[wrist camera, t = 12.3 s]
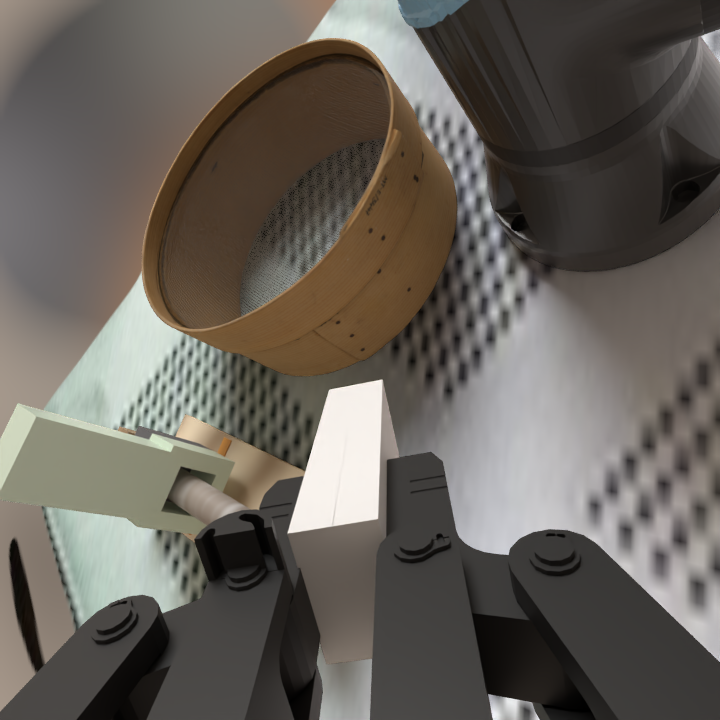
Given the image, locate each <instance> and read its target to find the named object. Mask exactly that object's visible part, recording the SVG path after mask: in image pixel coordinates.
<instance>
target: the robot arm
mask: <svg viewBox="0 0 720 720" xmlns="http://www.w3.org/2000/svg"><path fill="white" fill-rule="evenodd" d="M398 3H399V10H400V12H401V14H402V17H403V18H404V20H405V21H406V23H407V24H408V25H409V26H412V27H413V28H414V30H415V32H416V33H417V35H418V37H419V38H420V40H421V42H422V43H423V45H424V46H425V48H426V50H427V51H428V53H429V55H430V56H431V58H432V59H433V61H434V63H435V64H436V66H437V68H438V69H439V71H440V73H441V74H442V76H443V77H444V79H445V81H446V82H447V84H448V86H449V87H450V89H451V91H452V92H453V94H454V95H455V97H456V99H457V100H458V102H459V104H460V105H461V107H462V109H463V110H464V112H465V113H466V115H467V117H468V118H469V120H470V122H471V123H472V125H473V127H474V128H475V129H476V131H477V133H478V135H479V136H480V138H481V140H482V141H483V144H484V153H485V162H486V172H487V181H488V190H489V197H490V202H491V205H492V208H493V211H494V213H495V216H496V218H497V219H498V221H499V223H500V224H501V226H502V227H503V229H504V230H505V232H506V233H507V235H508V236H509V238H510V239H511V241H512V242H513V243H514V244H515V245H516V246H517V247H518V248H519V249H520V250H521V251H522V252H524V253H525V254H526V255H528V256H529V257H531V258H532V259H534V260H536V261H538V262H541V263H543V264H545V265H548V266H551V267H555V268H559V269H565V270H573V271H598V270H607V269H613V268H618V267H623V266H627V265H630V264H634V263H637V262H640V261H643V260H645V259H648V258H650V257H653V256H655V255H657V254H659V253H661V252H663V251H665V250H667V249H669V248H671V247H672V246H674V245H676V244H677V243H679V242H681V241H682V240H684V239H685V238H686V237H688V236H689V235H691V234H692V233H693V232H695V231H696V230H697V229H698V228H699V227H701V226H702V225H703V224H704V223H705V222H706V221H707V220H708V219H709V218H710V217H711V216H712V215H713V214H714V213H715V212H716V211H717V210H718V208H719V207H720V62H719V61H718V60H717V58H716V57H715V56H714V54H713V53H712V51H711V50H710V49H709V47H708V46H707V44H706V43H705V42H704V40H703V39H702V38H701V36H702V35H704V34H707V33H710V32H713V31H715V30H718V29H720V0H398ZM194 541H195V544H196V547H197V550H198V552H199V555H200V558H201V561H202V564H203V566H204V569H205V572H206V575H207V577H208V580H209V582H208V584H207V586H206V588H205V591H204V593H203V595H202V597H201V598H200V599H198V600H196V601H194V602H192V603H189V604H186V605H184V606H181V607H178V608H176V609H173V610H171V611H168V612H165V613H163V614H162V612H161V609H160V607H159V604H158V603H157V602H156V601H155V599H154V598H153V597H149V596H145V595H138V596H130V597H127V598H123V599H121V600H117V601H115V602H113V603H111V604H109V605H108V606H106V607H105V608H103V609H101V610H100V611H98V612H97V613H95V614H94V615H93V616H92V617H91V618H90V619H88V620H87V621H86V622H85V623H84V624H83V625H82V626H81V627H80V628H79V629H78V630H77V631H76V632H75V633H74V635H73V636H72V637H71V638H70V639H69V640H68V641H67V642H66V643H65V644H64V645H63V646H62V647H61V648H60V649H59V650H58V651H57V652H56V653H55V655H54V656H53V657H52V658H51V659H50V660H49V661H48V662H47V663H46V664H45V665H44V666H43V667H42V668H41V669H40V670H39V671H38V672H37V674H36V675H35V676H34V677H33V678H32V679H31V680H30V681H29V682H28V683H27V684H26V685H25V686H24V687H23V688H22V689H21V690H20V692H19V693H18V694H17V695H16V696H15V697H14V698H13V699H12V700H11V701H10V702H9V703H8V704H7V705H6V706H5V707H4V708H3V709H2V711H1V712H0V720H319V717H320V709H321V701H322V693H323V690H322V680H321V676H320V673H319V670H318V667H317V663H316V662H317V656H318V649H319V642H320V644H321V647H322V651H323V654H324V657H325V661H326V664H334V663H342V662H349V661H357V660H364V659H372V683H371V709H370V720H493V719H492V713H491V708H490V702H489V697H488V694H491V695H496V696H502V697H507V698H513V699H518V700H523V701H529V702H532V703H533V706H534V709H535V712H536V714H537V715H538V717H539V719H540V720H720V662H719V661H718V660H717V659H716V658H715V657H714V656H713V655H712V654H711V653H710V652H708V651H707V650H706V649H705V648H704V647H703V646H702V645H701V644H700V643H699V642H698V641H697V640H696V639H695V638H694V637H693V636H692V635H691V634H690V633H689V632H688V631H687V630H686V629H685V628H684V627H683V626H681V625H680V624H679V623H678V622H677V621H676V620H675V619H674V618H673V617H672V616H671V615H670V614H669V613H668V612H667V611H666V610H665V609H664V608H663V607H662V606H661V605H660V604H659V603H658V602H657V601H656V600H654V599H653V598H652V597H651V596H650V595H649V594H648V593H647V592H646V591H645V590H644V589H643V588H642V587H641V586H640V585H639V584H638V583H637V582H636V581H635V580H634V579H633V578H632V577H631V576H630V575H629V574H627V573H626V572H625V571H624V570H623V569H622V568H621V567H620V566H619V565H618V564H617V563H616V562H615V561H614V560H613V559H612V558H611V557H610V556H609V555H608V554H607V553H606V552H605V551H604V550H603V549H602V548H600V547H599V546H598V545H597V544H596V543H595V542H593V541H592V540H590V539H588V538H587V537H585V536H584V535H581V534H577V533H574V532H571V531H568V530H551V529H549V530H543V531H538V532H533V533H531V534H529V535H526V536H524V537H522V538H520V539H519V540H518V541H517V542H516V543H515V544H514V545H513V546H512V547H511V548H510V552H509V555H500V554H492V553H486V552H482V551H479V550H476V549H473V548H472V547H470V546H468V545H467V544H465V543H464V542H463V541H462V540H461V539H460V538H459V536H458V534H457V532H456V528H455V522H454V517H453V512H452V507H451V502H450V497H449V492H448V487H447V482H446V477H445V471H444V466H443V462H442V461H441V460H440V459H439V458H438V457H436V456H435V455H434V454H433V453H432V452H428V453H422V454H417V455H411V456H405V457H400V456H399V452H398V447H397V443H396V438H395V434H394V429H393V425H392V420H391V415H390V411H389V406H388V402H387V397H386V393H385V388H384V384H383V379H382V380H377V381H372V382H367V383H361V384H356V385H351V386H346V387H340V388H335V389H330V390H329V392H328V395H327V399H326V402H325V406H324V409H323V413H322V416H321V420H320V423H319V426H318V430H317V433H316V437H315V440H314V444H313V447H312V451H311V454H310V457H309V461H308V464H307V468H306V471H305V475H304V476H300V477H294V478H288V479H283V480H278V481H277V482H276V483H275V484H274V485H273V486H272V487H271V488H270V489H269V490H268V491H267V492H266V493H265V494H264V497H263V499H262V502H261V504H260V507H259V510H257V509H253V510H241V511H237V512H234V513H230V514H227V515H225V516H223V517H221V518H219V519H217V520H215V521H213V522H212V523H210V524H209V525H207V526H206V527H205V528H203V529H202V530H201V531H200V533H199V534H198V535H197V536H196V537H195V539H194Z"/></svg>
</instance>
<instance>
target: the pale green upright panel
mask: <svg viewBox="0 0 720 720" xmlns="http://www.w3.org/2000/svg"><path fill="white" fill-rule="evenodd" d="M234 464H235V462H233V461H232V460H230V459H228V458H226V457H224V456H222V455H220V454H218V453H216V452H215V451H212V450H209V449H205V448H202V447H198V446H195V445H191V444H188V443H184V442H181V441H177V440H174V439H170V438H167V437H163V436H160V435H156V434H153V433H152V435H151V437H150V439H145V438H142V437H138V436H134V435H131V434H127V433H124V432H120V431H116V430H113V429H109V428H105V427H102V426H98V425H95V424H91V423H87V422H84V421H80V420H76V419H73V418H69V417H66V416H62V415H58V414H55V413H51V412H47V411H44V410H40V409H36V408H33V407H29V406H26V405H22V404H17V406H16V408H15V410H14V412H13V415H12V417H11V419H10V421H9V423H8V425H7V427H6V429H5V431H4V433H3V435H2V437H1V439H0V500H3V501H10V502H17V503H25V504H32V505H38V506H45V507H52V508H59V509H66V510H74V511H81V512H88V513H95V514H102V515H109V516H116V517H123V518H127V519H128V520H129V521H131V522H132V523H133V524H134V525H136V526H137V527H142V528H149V529H157V530H165V531H172V532H180V533H188V534H195V535H198V534H199V533H200V531H201V530H202V529H203V528H205V527H206V526H207V525H205V524H204V523H202V522H201V521H200V520H198V519H197V518H195V517H194V516H192V515H191V514H189V513H188V512H186V511H185V510H183V509H182V508H181V507H179V506H178V505H176V504H175V503H173V502H168V501H166V499H167V497H168V494H169V492H170V490H171V488H172V485H173V483H174V481H175V478H176V476H177V474H178V472H179V469H180V467H185V468H190V469H191V472H190V473H191V474H193V475H194V476H196V477H198V478H199V479H201V480H203V481H204V482H206V483H208V484H209V485H211V486H213V487H214V488H216V489H218V490H219V491H221V492H223V490H224V488H225V485H226V483H227V481H228V478H229V476H230V474H231V471H232V469H233V467H234Z"/></svg>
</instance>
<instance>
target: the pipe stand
mask: <svg viewBox="0 0 720 720" xmlns="http://www.w3.org/2000/svg"><path fill="white" fill-rule="evenodd" d="M118 431H120V432H124V433H127V434H131V435H134V436H135V433H136V431H133V430H130V429H126V428H123V427H119V429H118ZM175 437H179V438H182V439H186V440H189V441H192V442H196V443H199V444H201V445H203V446H205V447H207V448H209V449H211V450H213V451H215V452H216V453H218V454H220V455H222V456H224V457H226V458H228V459H230V460H232V461H233V462H235V464H234V467H233V469H232V471H231V474H230V476H229V478H228V481H227V483H226V485H225V488H224V490H223V492H221V491H219V490H218V489H216V488H214V487H213V486H211V485H209V484H208V483H206V482H204V481H203V480H201V479H199V478H198V477H196V476H194V475H193V474H191V473H189V472H188V471H186V470H184V469H183V468H181V467H180V469H179V472H178V474H177V476H176V478H175V481H174V483H173V485H172V488H171V490H170V492H169V494H168V497H167V499H169V500H170V501H172V502H173V503H175V504H176V505H178V506H179V507H181V508H182V509H183V510H185V511H186V512H188V513H189V514H191V515H192V516H194V517H195V518H197V519H198V520H200V521H201V522H202V523H204V524H205V525H209V524H210V523H212V522H213V521H215V520H217V519H219V518H221V517H223V516H225V515H227V514H230V513H234V512H237V511H241V510H253V509H257V510H259V507H260V504H261V502H262V499H263V497H264V494H265V493H266V492H267V491H268V490H269V489H270V488H271V487H272V486H273V485H274V484H275V483H276V482H277V481H278V480H283V479H288V478H294V477H300V476H304V475H305V471H304V470H302V469H300V468H298V467H296V466H294V465H292V464H290V463H288V462H285V461H283V460H281V459H279V458H277V457H275V456H273V455H271V454H269V453H267V452H265V451H263V450H260V449H258V448H256V447H254V446H252V445H250V444H248V443H246V442H244V441H242V440H240V439H238V438H236V437H233V436H231V435H229V434H227V433H225V432H223V431H221V430H219V429H217V428H215V427H213V426H211V425H209V424H206V423H204V422H202V421H200V420H198V419H196V418H194V417H192V416H189V415H186V414H185V416H184V418H183V421H182V423H181V425H180V427H179V430H178V432H177V434H176V436H175ZM182 534H184V535H185V536H186V537H188V538H189V539H190V540H192V541H193V542H194V543H195V541H194V539H195V537H196V536H197V535H195V534H188V533H182Z"/></svg>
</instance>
